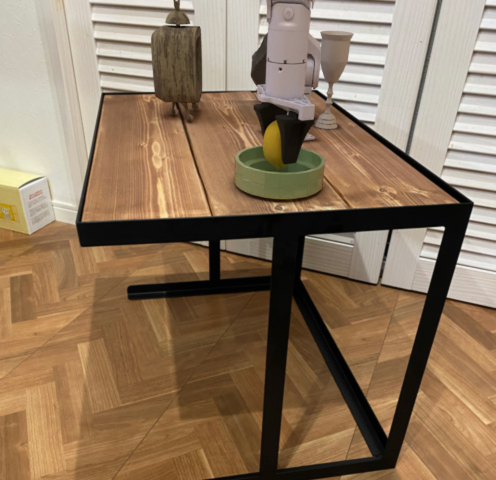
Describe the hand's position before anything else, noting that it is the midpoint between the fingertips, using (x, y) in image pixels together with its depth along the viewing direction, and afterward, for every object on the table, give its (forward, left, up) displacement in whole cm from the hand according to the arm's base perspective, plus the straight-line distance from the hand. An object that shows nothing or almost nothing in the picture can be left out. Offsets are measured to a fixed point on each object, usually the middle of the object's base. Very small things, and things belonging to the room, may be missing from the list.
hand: (280, 157), depth 80 cm
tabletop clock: (-47, -1, -5) cm, 47 cm away
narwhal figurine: (-44, +23, -5) cm, 50 cm away
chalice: (-29, +27, -5) cm, 40 cm away
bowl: (0, 0, -5) cm, 5 cm away
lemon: (0, 0, -2) cm, 2 cm away
